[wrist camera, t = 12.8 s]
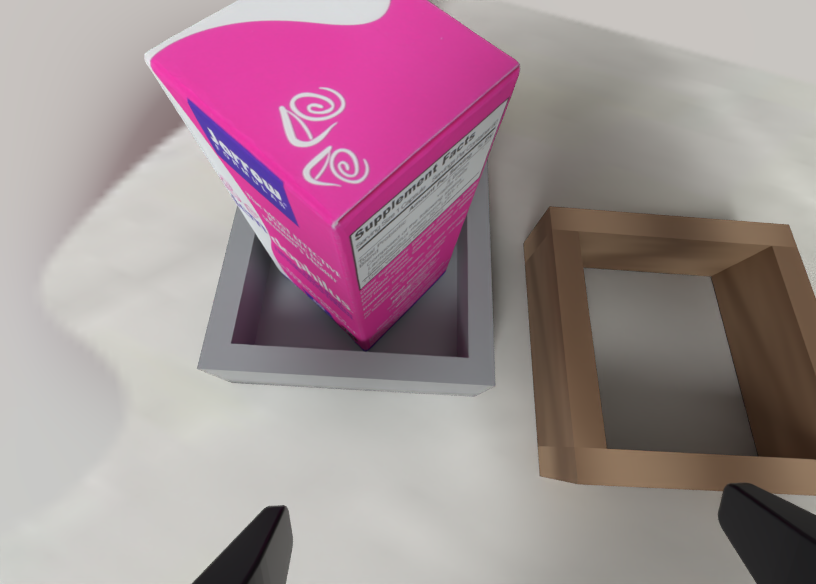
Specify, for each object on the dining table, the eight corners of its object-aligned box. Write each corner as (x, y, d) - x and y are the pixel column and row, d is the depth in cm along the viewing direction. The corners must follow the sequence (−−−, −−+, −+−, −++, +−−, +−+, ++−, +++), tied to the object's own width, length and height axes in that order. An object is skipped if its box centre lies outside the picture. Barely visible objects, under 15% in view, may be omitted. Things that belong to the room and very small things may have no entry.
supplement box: (276, 276, 18) (126, 41, 8) (365, 201, 20) (345, -73, 9) (363, 360, 17) (331, 222, 6) (449, 272, 19) (537, 51, 8)
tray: (231, 382, 17) (196, 368, 14) (274, 180, 21) (254, 133, 18) (474, 396, 18) (495, 385, 14) (471, 195, 22) (487, 152, 19)
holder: (540, 476, 17) (578, 483, 13) (523, 243, 21) (549, 206, 18) (792, 488, 17) (888, 499, 14) (726, 257, 21) (788, 224, 18)
